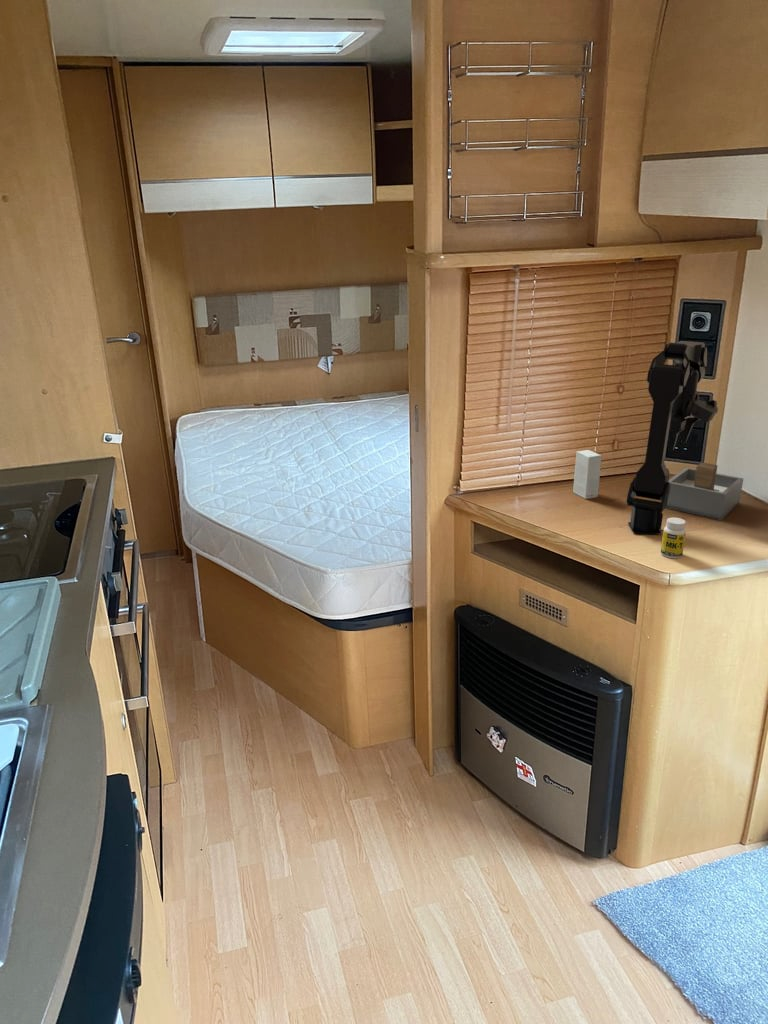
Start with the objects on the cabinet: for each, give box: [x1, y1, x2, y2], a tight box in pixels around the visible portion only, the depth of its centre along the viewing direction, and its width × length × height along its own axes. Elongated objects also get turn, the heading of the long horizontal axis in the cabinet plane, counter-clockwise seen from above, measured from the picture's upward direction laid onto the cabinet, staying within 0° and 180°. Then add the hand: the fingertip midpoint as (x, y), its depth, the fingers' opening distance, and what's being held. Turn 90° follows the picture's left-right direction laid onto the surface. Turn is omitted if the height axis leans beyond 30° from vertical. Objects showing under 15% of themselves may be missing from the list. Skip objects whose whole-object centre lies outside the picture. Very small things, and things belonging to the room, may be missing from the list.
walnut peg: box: [694, 462, 718, 491], centre depth 203 cm, size 4×4×10 cm
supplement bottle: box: [660, 517, 687, 559], centre depth 176 cm, size 5×5×8 cm
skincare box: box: [572, 449, 602, 500], centre depth 212 cm, size 6×4×12 cm
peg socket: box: [665, 467, 744, 521], centre depth 204 cm, size 15×15×7 cm
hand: (677, 446), depth 210 cm, fingers open, 9 cm apart
